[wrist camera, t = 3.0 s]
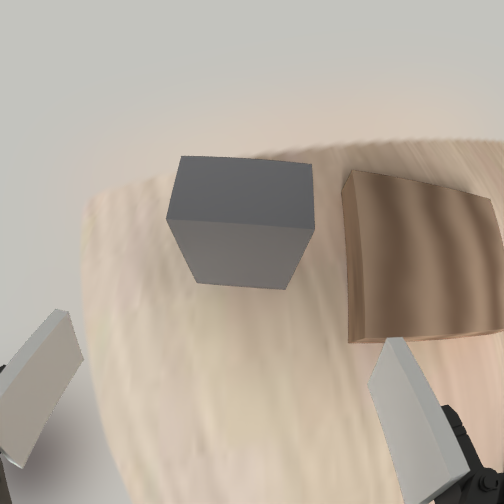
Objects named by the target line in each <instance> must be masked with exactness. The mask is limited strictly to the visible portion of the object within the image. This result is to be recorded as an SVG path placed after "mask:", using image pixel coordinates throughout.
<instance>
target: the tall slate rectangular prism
mask: <svg viewBox="0 0 504 504" xmlns="http://www.w3.org/2000/svg"><path fill="white" fill-rule="evenodd" d="M166 220H167V222H168V225H169V227H170V229H171V231H172V233H173V235H174V237H175V239H176V242H177V244H178V246H179V248H180V250H181V252H182V254H183V256H184V258H185V260H186V262H187V264H188V266H189V268H190V270H191V272H192V274H193V276H194V278H195V280H196V282H197V283H203V284H214V285H227V286H239V287H253V288H267V289H282V290H285V289H286V287H287V285H288V283H289V281H290V279H291V277H292V275H293V273H294V271H295V269H296V267H297V265H298V263H299V261H300V259H301V257H302V255H303V253H304V251H305V249H306V247H307V245H308V243H309V241H310V239H311V236H312V234H313V232H314V230H315V221H314V196H313V176H312V164H305V163H295V162H285V161H274V160H262V159H247V158H230V157H205V156H181V160H180V163H179V167H178V171H177V175H176V179H175V183H174V187H173V191H172V195H171V199H170V204H169V208H168V212H167V217H166Z"/></svg>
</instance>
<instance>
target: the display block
mask: <svg viewBox="0 0 504 504" xmlns="http://www.w3.org/2000/svg"><path fill="white" fill-rule="evenodd" d="M341 193H342V203H343V214H344V226H345V240H346V256H347V277H348V343H385V341H386V339H387V338H392V337H403V339H404V340H405V342H410V341H426V340H439V339H451V338H461V337H470V336H479V335H487V334H494V333H497V332H501V331H504V246H503V242H502V238H501V234H500V230H499V227H498V223H497V219H496V216H495V213H494V209H493V206H492V203H491V200H490V199H488V198H484V197H481V196H477V195H473V194H470V193H466V192H462V191H458V190H454V189H450V188H445V187H441V186H437V185H432V184H428V183H423V182H418V181H413V180H408V179H403V178H398V177H393V176H387V175H381V174H375V173H369V172H363V171H357V170H352V171H351V173H350V175H349V177H348V179H347V181H346V184H345V186H344V188H343V190H342V192H341Z"/></svg>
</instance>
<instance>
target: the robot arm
mask: <svg viewBox="0 0 504 504" xmlns="http://www.w3.org/2000/svg"><path fill="white" fill-rule="evenodd" d="M83 360H84V359H83V356H82V353H81V350H80V347H79V344H78V341H77V338H76V335H75V332H74V329H73V326H72V322H71V319H70V315H69V312H68V311H63V310H58V309H55V310H54V311H53V312H52V313H51V314H50V315H49V316H48V318H47V319H46V320H45V321H44V322H43V323H42V324H41V325H40V326H39V328H38V329H37V330H36V331H35V332H34V333H33V334H32V335H31V337H30V338H29V339H28V340H27V341H26V342H25V344H24V345H23V346H22V347H21V348H20V350H19V351H18V352H17V353H16V354H15V356H14V357H13V358H12V359H11V360H10V362H9V363H8V364H7V365H3V366H1V367H0V453H2V454H3V455H4V456H5V457H6V458H7V459H8V460H9V461H10V462H12V463H14V464H15V465H17V466H18V467H20V468H23V467H24V465H25V463H26V461H27V459H28V457H29V455H30V453H31V451H32V449H33V447H34V445H35V443H36V441H37V439H38V437H39V435H40V434H41V432H42V430H43V428H44V426H45V424H46V422H47V421H48V419H49V417H50V415H51V413H52V412H53V410H54V408H55V406H56V405H57V403H58V401H59V399H60V398H61V396H62V394H63V392H64V391H65V389H66V388H67V386H68V384H69V383H70V381H71V379H72V378H73V376H74V374H75V373H76V371H77V369H78V368H79V366H80V365H81V363H82V362H83ZM367 385H368V388H369V391H370V393H371V396H372V399H373V402H374V405H375V408H376V411H377V414H378V417H379V420H380V423H381V426H382V429H383V432H384V435H385V438H386V441H387V444H388V448H389V451H390V454H391V457H392V461H393V464H394V467H395V471H396V474H397V478H398V481H399V485H400V488H401V492H402V496H403V499H404V503H405V504H428V503H430V502H431V501H432V500H434V501H435V504H504V473H497V472H496V471H495V470H493V469H491V468H484V467H483V465H482V463H481V462H480V459H479V457H478V455H477V453H476V451H475V448H474V446H473V444H472V442H471V440H470V438H469V436H468V435H467V434H466V433H467V432H466V430H465V428H464V426H462V422H461V420H460V418H459V416H458V414H457V413H456V412H455V411H454V410H453V409H452V408H451V407H450V406H449V405H444V406H440V404H439V402H438V400H437V398H436V396H435V394H434V392H433V391H432V389H431V387H430V385H429V383H428V381H427V379H426V377H425V376H424V374H423V372H422V370H421V368H420V367H419V365H418V363H417V361H416V359H415V358H414V356H413V354H412V352H411V351H410V349H409V347H408V346H407V344H406V342H405V340H404V339H403V337H392V338H387V339H386V341H385V344H384V346H383V349H382V351H381V354H380V356H379V358H378V361H377V363H376V366H375V368H374V370H373V372H372V375H371V377H370V379H369V381H368V384H367ZM0 504H12V501H11V498H10V494H9V491H8V487H7V482H6V478H5V473H4V470H3V465H2V461H1V458H0Z"/></svg>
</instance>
